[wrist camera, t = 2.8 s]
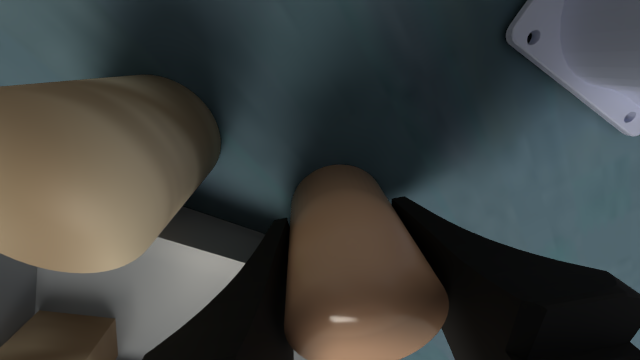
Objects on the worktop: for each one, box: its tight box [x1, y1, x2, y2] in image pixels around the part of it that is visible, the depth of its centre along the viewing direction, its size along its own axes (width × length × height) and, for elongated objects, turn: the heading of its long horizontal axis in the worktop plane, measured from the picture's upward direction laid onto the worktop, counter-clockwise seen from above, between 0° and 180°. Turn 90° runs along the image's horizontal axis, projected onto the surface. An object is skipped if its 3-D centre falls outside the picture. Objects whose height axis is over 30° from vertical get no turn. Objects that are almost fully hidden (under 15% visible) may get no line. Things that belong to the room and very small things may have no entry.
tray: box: [0, 206, 307, 360], centre depth 15 cm, size 22×15×2 cm
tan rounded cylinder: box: [284, 165, 449, 360], centre depth 10 cm, size 5×5×6 cm
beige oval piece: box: [0, 75, 221, 273], centre depth 8 cm, size 5×5×6 cm
